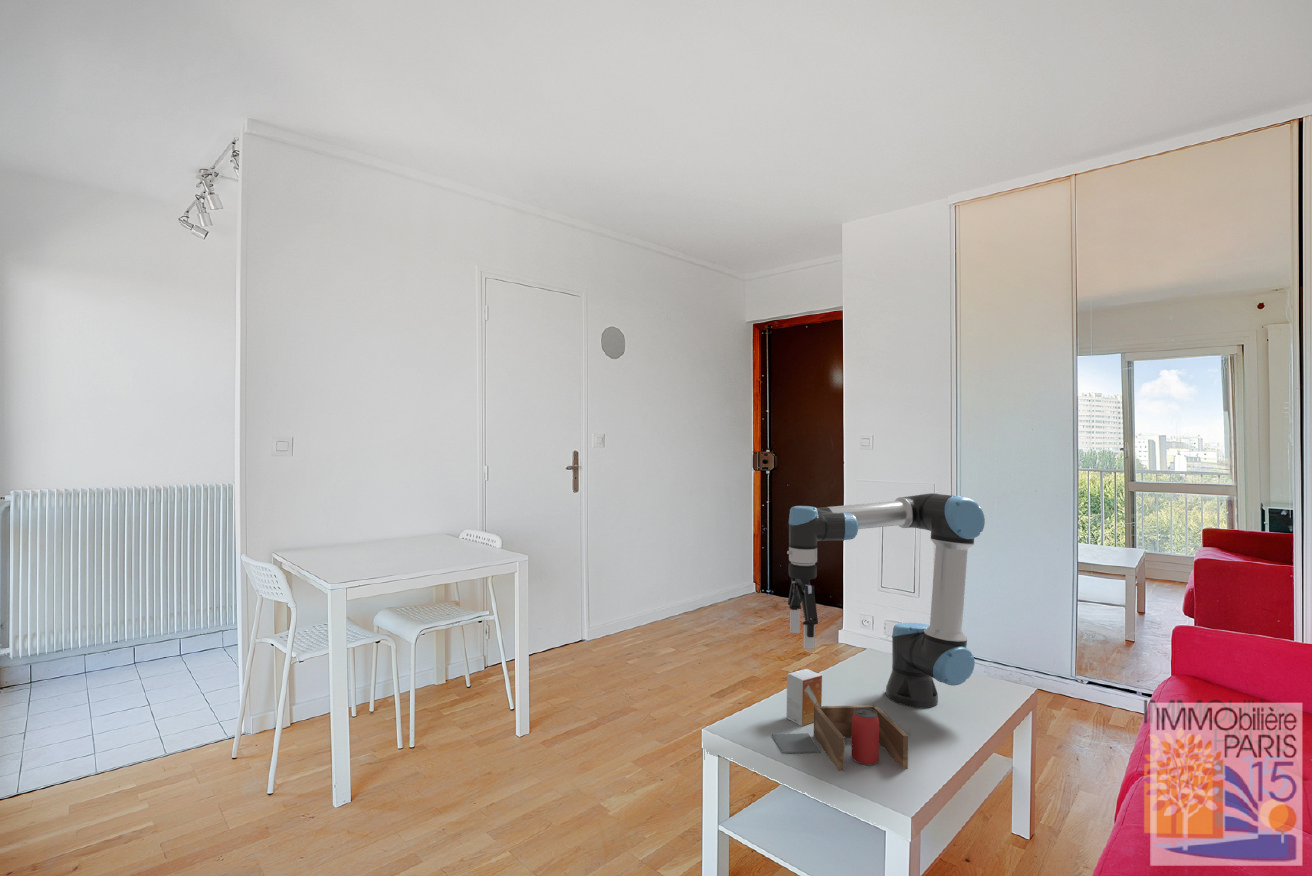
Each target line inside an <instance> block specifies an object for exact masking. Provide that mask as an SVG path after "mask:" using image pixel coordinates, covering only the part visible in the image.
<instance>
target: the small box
mask: <svg viewBox="0 0 1312 876" xmlns="http://www.w3.org/2000/svg"><path fill="white" fill-rule="evenodd" d="M786 676H787V677H786V717H785V718H786V719H788V720H790V721H791V722H793V723H795V724H797V725H799V726H801V727H803V726H806V725H809V724H812V723H814V706H822V701H823V700H822V696H823V694H822V693H823V690H822V689H823V688H822V687H823V675H822V674H820V673H817V672H815V671H813V670H811V669H808V668H804V669H801V670H796V671H793V672H789V673H787V675H786Z"/></svg>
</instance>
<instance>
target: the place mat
mask: <svg viewBox="0 0 1312 876" xmlns="http://www.w3.org/2000/svg"><path fill="white" fill-rule="evenodd" d="M771 736H772V738H773V740H774V742H775V743H776V745H777V747H778V749H779V750H780V752H781V753H782V755H787V754H790V755H794V754H815V753H816V754H819V753H820V754H821V753H822V750H821V749H820V748H819V747H818V745H817V744H816V742H815V741H814V740H813V738H812V737H811V735H810V734H809V733H808V732H806V733H805V732H804V733H803V732H802V733H772V734H771Z"/></svg>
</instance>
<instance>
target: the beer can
mask: <svg viewBox="0 0 1312 876" xmlns="http://www.w3.org/2000/svg"><path fill="white" fill-rule="evenodd" d="M850 746H851V747H850V748H851V752H850V753H851V755H850V756H851V757H852V759H853V760H854V761H855V762H856V763H858V764H861V765H865V766H872V765H875V764H877V763H878V762H879V758H880V756H879V755H880V743H879V719H878V716H877V712H876V711H874V710H872V709H870V708H865V707H860V708H856V709H855V710H854V714H853V716H852V737H851V745H850Z"/></svg>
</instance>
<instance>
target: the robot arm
mask: <svg viewBox="0 0 1312 876" xmlns="http://www.w3.org/2000/svg"><path fill="white" fill-rule="evenodd" d="M985 520H986V518H985V514H984V511H983V509H982V507H981V506H980V505H979V504H978V502H977V501H975V500H973V498H972V499H971V498H969V497H964V496H960V495H951V494H949V495H948V494H942V493H941V494H940V493H931V492H930V493H924V494H923V493H922V494H917V495H909V496H901V497H897V498H896V499H895V500H894V501H893V500H892V501H881V502H871V503H861V504H860V503H858V504H847V505H837V506H836V505H835V506H826V507H815V506H809V505H795V506H792V507H791V508H790V509H789V517H788V538H789V539H788V543H789V544H788V550H787V552H786V554H787V555H788V561H789V562H788V576H789V577H790V588H789V593H788V599H787V600H788V601H787V605H788V606H789V609H790V610H789V612H790V613H789V633H790V634H801V610H802V613H803V617H804V621H803V622H802V625H803V649H804V650H815V648H816V647H815V642H816V641H815V640H816V638H815V637H816V635H815V634H816V626H815V625H818V623H819V617H818V612H817V603H816V596H815V594H816V593H815V585H811V580H815V579H816V578H817V576H818V574H817V573H818V571H817V569H818V566H817V564H816V563H818V542H822V541H824V542H825V541H843V542H844V541H847V540H848V541H850V540H853V539H855V538H856V536H857V535H858V532H859V530H864V529H874V528H884V527H885V528H886V527H895V526H896V527H897V526H898V527H900V528H901V529H909V528H911V529H913V528H914V529H920V530H926V531H929V532H930V540H931V541H932V543H933V544H934V545H935V549H934V562H933V563H934V565H933V579H932V589H931V591H932V592H931V602H930V603H931V605H930V616H929V618H930V619H929V624H927V623H918V622H901V623H897V624H895V625H894V626H893V628H892V635H891V640H892V642H891V643H892V653H891V654H892V655H891V656H892V658H891V660H892V661H891V662H892V663H891V664H892V666H891V673H890V676H889V678H888V680H887V684H886V686H885V687H886V688H885V696H886V697H887V698H888V699H889V700H891V701H892V702H895V703H896V704H899V705H902V706H905V707H912V708H921V709H922V708H924V709H925V708H931V707H935V706H936V705H937V704H938V703H939V694H938V690H937V687H936V684H935V680H936V681H937V682H939V683H942V684H945V685H948V686H954V687H955V686H960V685H961V684H964V683H965V682H966V681H967V679H970V677H971V676H972V674H973V672H974V669H975V664H976V663H975V657H974V654H973V653H972V652H971V650H970V649H968V648H967V646H968V645H967V644H968V643H967V642H968V637H967V636H966V635H965V633H964V632H963V621H964V620H963V617H964V606H965V605H964V604H965V590H966V579H967V578H966V575H967V562H968V550H969V549H970V548H971V547H972V546H973V545H974V544H975V538H977V537H979V536H980V535H981V532H983V531H984V528H985V525H986V521H985ZM934 679H935V680H934Z"/></svg>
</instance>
